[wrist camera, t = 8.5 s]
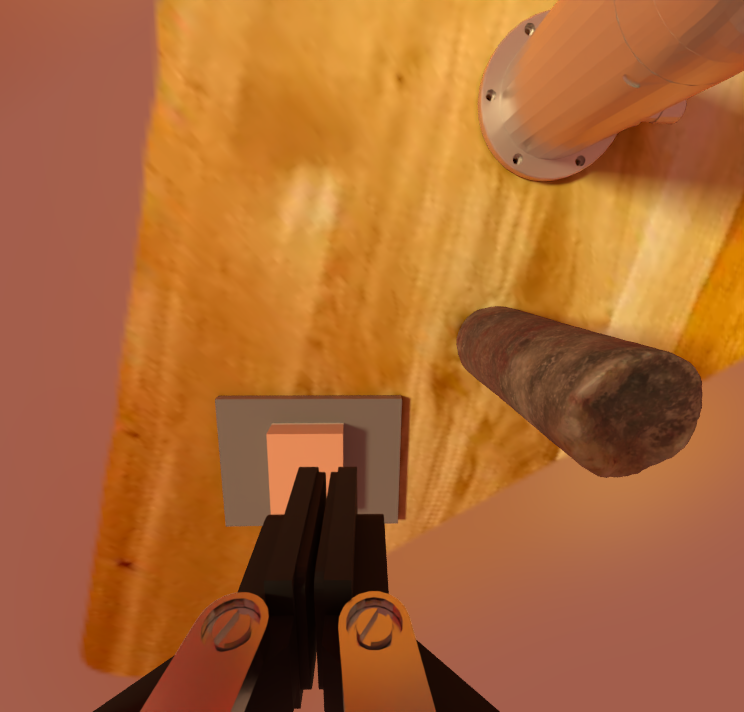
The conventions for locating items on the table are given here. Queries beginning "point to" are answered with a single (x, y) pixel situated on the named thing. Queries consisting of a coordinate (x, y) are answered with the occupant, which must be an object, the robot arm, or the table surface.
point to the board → (358, 413)
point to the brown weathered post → (585, 388)
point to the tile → (300, 455)
